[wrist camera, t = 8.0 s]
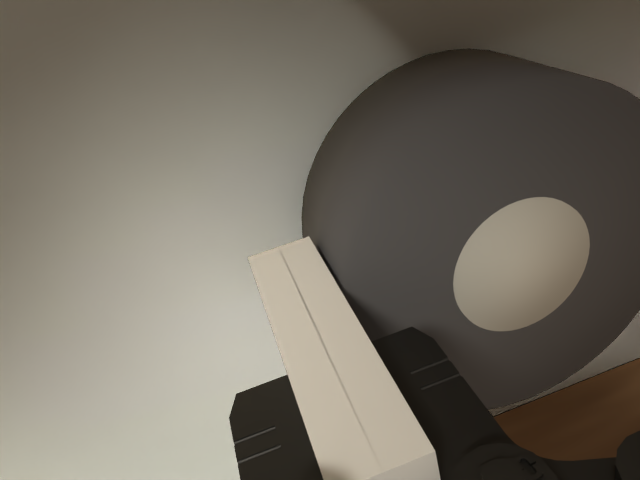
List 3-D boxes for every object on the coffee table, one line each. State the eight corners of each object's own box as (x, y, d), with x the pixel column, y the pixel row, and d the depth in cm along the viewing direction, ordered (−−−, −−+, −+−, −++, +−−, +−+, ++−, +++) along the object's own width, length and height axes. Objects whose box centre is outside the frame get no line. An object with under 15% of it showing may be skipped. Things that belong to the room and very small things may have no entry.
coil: (265, 102, 13) (304, 150, 10) (579, 10, 14) (705, 26, 11) (336, 365, 17) (380, 460, 14) (576, 278, 18) (668, 346, 15)
